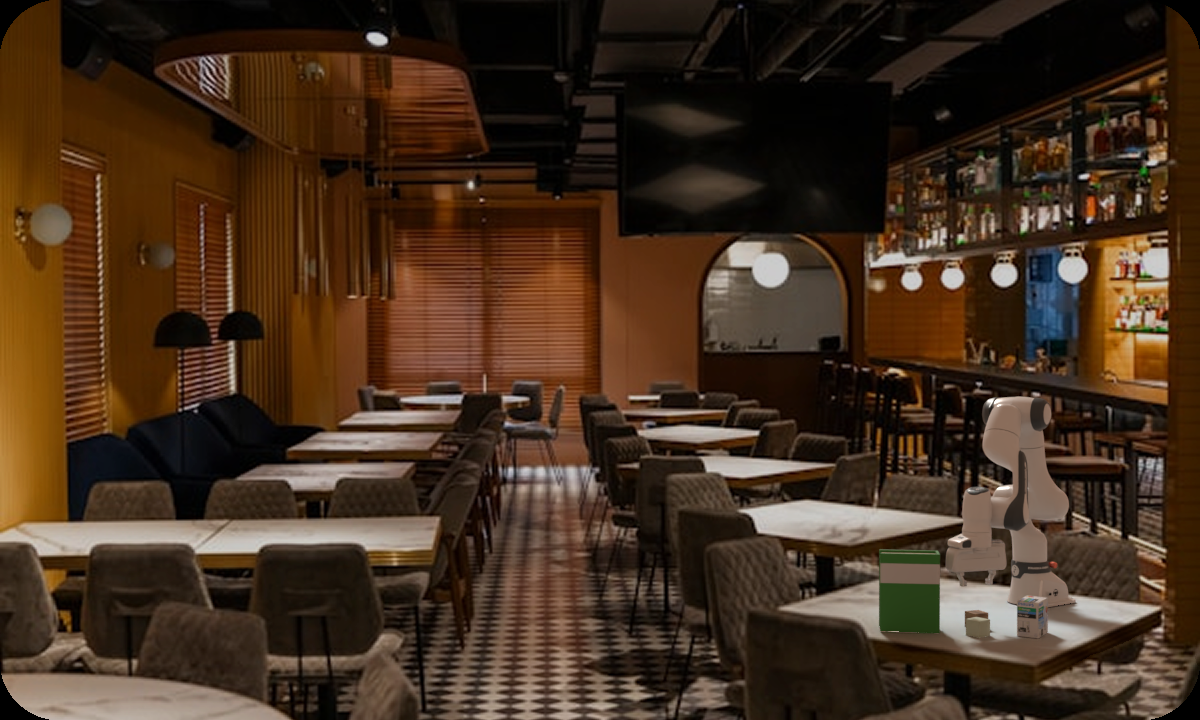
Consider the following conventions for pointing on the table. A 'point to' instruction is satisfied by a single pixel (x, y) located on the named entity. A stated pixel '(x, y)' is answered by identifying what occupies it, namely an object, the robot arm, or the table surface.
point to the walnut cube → (975, 614)
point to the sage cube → (978, 627)
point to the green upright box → (909, 591)
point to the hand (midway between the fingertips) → (976, 585)
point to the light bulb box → (1032, 616)
